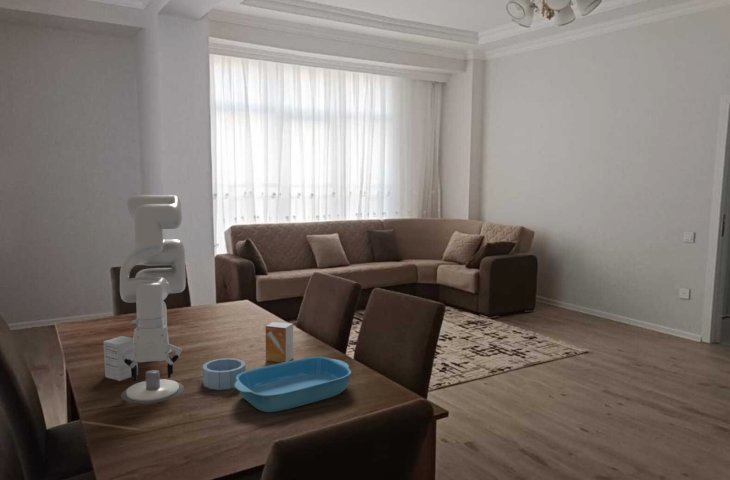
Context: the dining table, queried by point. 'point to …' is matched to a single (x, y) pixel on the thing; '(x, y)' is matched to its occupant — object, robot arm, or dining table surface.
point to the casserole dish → (293, 383)
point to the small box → (279, 342)
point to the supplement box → (117, 358)
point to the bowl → (222, 373)
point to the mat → (154, 400)
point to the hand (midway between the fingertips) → (152, 378)
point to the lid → (152, 388)
